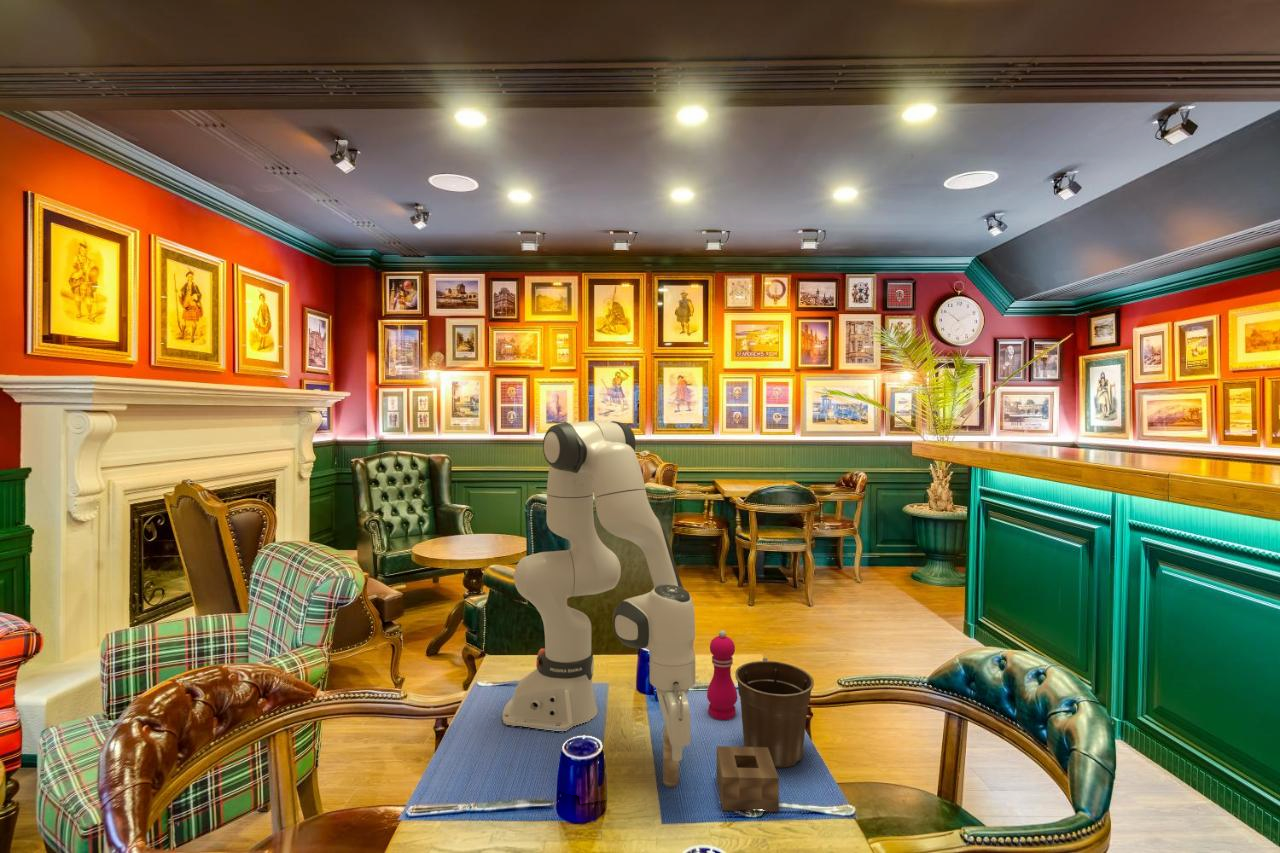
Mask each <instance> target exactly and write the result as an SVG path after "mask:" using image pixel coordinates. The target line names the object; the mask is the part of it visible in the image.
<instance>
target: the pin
mask: <svg viewBox="0 0 1280 853" xmlns="http://www.w3.org/2000/svg"><path fill="white" fill-rule="evenodd" d="M662 733H663V734H662V735H663V742H662V743H663V747H662V749H663V750H662V751H663V752H662V753H663V754H662V756H663V758H662V759H663V760H662V766H663V767H662V772H663V773H662V775H663V776H662V778H663V779H662V784H663V785H664V786H665V787H668V788H674V787H677V786H678V785H679V782H680V781H679V780H680V771H679V770H680V761H674V760H673V759H672V755H671V747H672V746H671V744H670V741H669V737H668V733H667V730H666V728H665V727H664V728H663V732H662Z"/></svg>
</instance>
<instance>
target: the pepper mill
mask: <svg viewBox="0 0 1280 853" xmlns="http://www.w3.org/2000/svg"><path fill="white" fill-rule="evenodd" d="M709 651H710V653H711V655H712V656H711V663H712V665H713V675H712V677H711V678H712V679H711V680H710V682H709V684H708V687H707V690H706V698H707V701H708V702H709V704H708V714H709V716H710V717H711V718H713V719H715V720H720V721H728V720H732V719H734V718H735V716H736V706H735V704H736V703H737V701H738V692H737V689H736V688H737V687H736V685H735V683H734V680H733V678H732V674H731V668H732V666H733V664H734V658H733V655H734V654H735V652H736V646H735V643H734V641H733V639H731V638H730V637H728V636H727V632H726V631H725V630H723V629H721V630H720V631H719V632H718V635H717V636H715V637H713V639H711V641H710V644H709Z"/></svg>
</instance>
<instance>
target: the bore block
mask: <svg viewBox="0 0 1280 853" xmlns="http://www.w3.org/2000/svg"><path fill="white" fill-rule="evenodd" d="M779 780H780V778H779V775H778V772H777V769H776V767H775V766H774V763H773V760H772V758H771V755H770V752H769V749H768V747H744V746H723V745H722V746H720V745H719V746H718V745H717V746H716V781H717V787H718V788H717V789H718V792H719V793H718V794H719V799H720V803H721V805H720V806H721V810H722V811H727V812H729V811H730V812H731V811H732V812H739V811H738V810H742V811H741V812H747V811H746V810H753V809H763V810H766V812H767V813H768V811H769V812H770V813H772V812H774V813H775V812H776V813H778V812H779V810H780V808H779V806H780V805H779V803H780V802H779V800H780V799H779V798H780V796H779V792H780V781H779ZM743 810H745V811H743Z"/></svg>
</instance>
